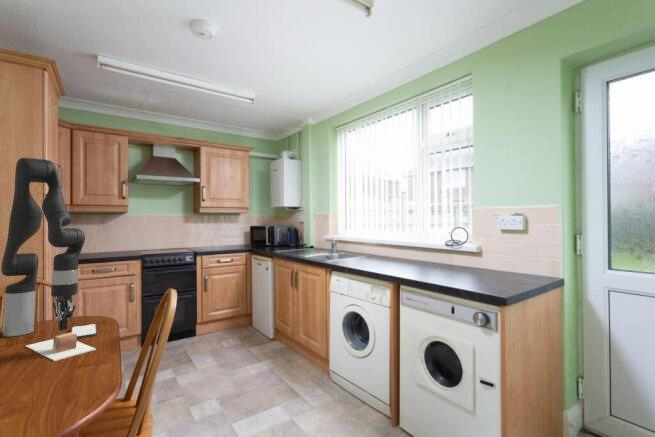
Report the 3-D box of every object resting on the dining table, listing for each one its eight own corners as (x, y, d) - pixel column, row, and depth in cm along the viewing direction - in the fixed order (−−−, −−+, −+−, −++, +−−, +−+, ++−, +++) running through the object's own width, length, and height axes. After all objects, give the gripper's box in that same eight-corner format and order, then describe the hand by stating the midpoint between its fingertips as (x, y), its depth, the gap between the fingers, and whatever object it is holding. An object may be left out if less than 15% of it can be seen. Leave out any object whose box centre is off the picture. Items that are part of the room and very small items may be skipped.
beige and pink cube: (53, 335, 112) (59, 338, 109) (70, 331, 116) (76, 334, 114) (53, 349, 112) (59, 352, 109) (70, 345, 116) (76, 348, 113)
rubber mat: (25, 346, 115) (25, 345, 115) (65, 337, 126) (65, 336, 126) (54, 361, 103) (54, 360, 103) (95, 349, 113) (95, 348, 113)
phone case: (97, 337, 128) (96, 326, 141) (97, 333, 128) (96, 323, 141) (69, 341, 123) (71, 330, 135) (69, 337, 123) (71, 326, 135)
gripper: (44, 281, 115) (42, 329, 114) (60, 285, 108) (57, 335, 107) (69, 279, 121) (67, 324, 121) (85, 282, 115) (83, 330, 114)
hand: (62, 329), depth 114 cm, fingers closed
